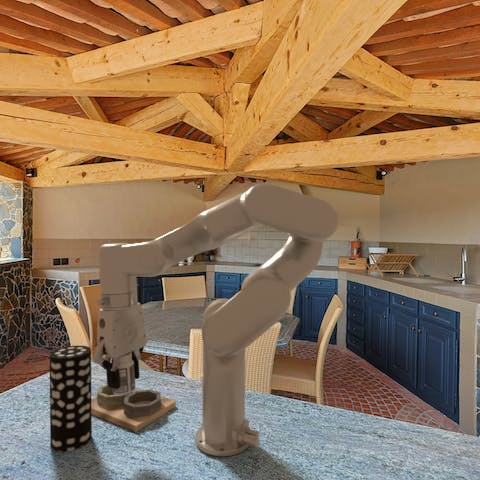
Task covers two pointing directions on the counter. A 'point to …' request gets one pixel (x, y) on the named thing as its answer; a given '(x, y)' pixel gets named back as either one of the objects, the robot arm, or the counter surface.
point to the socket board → (130, 407)
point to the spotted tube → (70, 398)
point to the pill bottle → (125, 375)
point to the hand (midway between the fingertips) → (123, 381)
